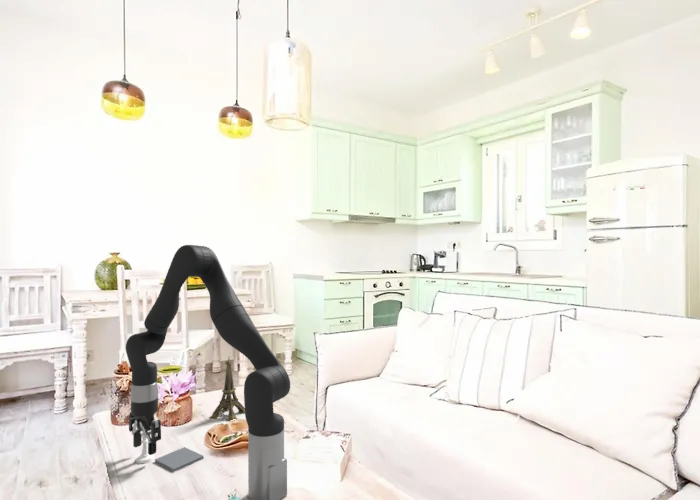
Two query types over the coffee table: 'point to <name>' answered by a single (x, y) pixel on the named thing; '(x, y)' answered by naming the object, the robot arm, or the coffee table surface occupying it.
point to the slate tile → (179, 459)
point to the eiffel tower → (228, 397)
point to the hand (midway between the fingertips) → (144, 450)
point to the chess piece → (144, 452)
